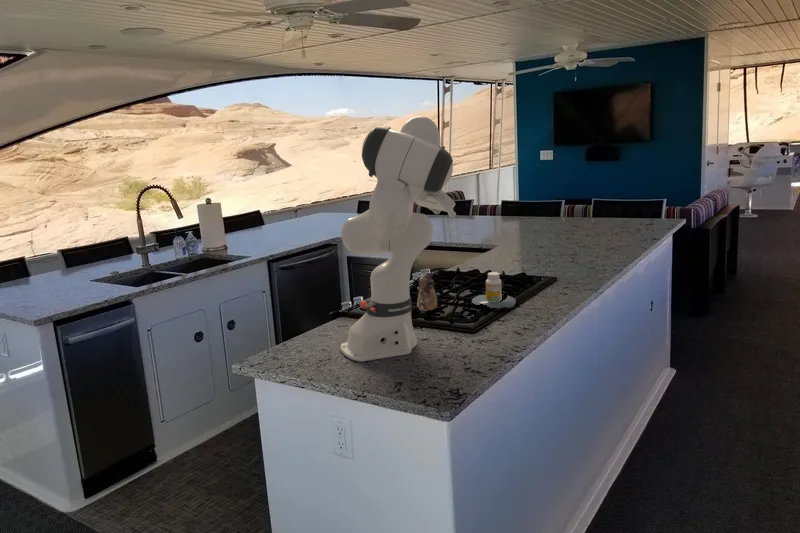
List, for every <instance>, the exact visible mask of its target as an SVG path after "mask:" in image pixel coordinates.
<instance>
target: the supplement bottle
mask: <svg viewBox="0 0 800 533" xmlns="http://www.w3.org/2000/svg"><path fill="white" fill-rule="evenodd" d="M502 290H503V289H502V279H500V273H499V272H497V271H491V272H488V273H487V279H486V280H485V295H486V301H488V302H500V301H501V300H502V295H503V294H502Z"/></svg>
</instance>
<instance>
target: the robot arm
mask: <svg viewBox="0 0 800 533" xmlns="http://www.w3.org/2000/svg"><path fill="white" fill-rule="evenodd" d="M441 140H442V139H441V135H440V131H439V128H438V126H437V124H436V122H434V121H433V120H432V119H431V118H429V117H428V116H423V115H420V116H419V115H417V116H413V117H411V118H410V119H408V120H407V121H406V122H405V123H404V124H403V126H402V127H401V130H397V129H393V128H391V126H385V125H376V126H374V127H373V128H371V130H370V131H369V132H368V133H367V135H366V136H365V138H364V139H363V142H362V147H361V159H362V162H363V165H364V167H365V168H366V169H367V171H368V176H369V177H370V178H373V177H375V178H376V179H377V183H376V185H375V187H374V189H373V191H372V194H371V197H370V201H369V206H368V207H369V208H368V209H367V210H366V211H364V212H362V213H360V214H358V215H355V216H352V217H350V218H347V219H346V220H345V222H344V223H343V226H342V228H341V236H340V237H341V241H342V243H343V245H344V247H345V248H346V249H347V250H348V251H349V252H350V253H358V254H365V255H367V254H368V255H369V254H380V253H381V254H382V253H385V254H386V253H391V254H390V256H389V258H388V259H387V260H386V261H384V262H381V263H380V264H379V265H378V266H376V267H375V268H374V269H373V270H372V272H371V274H370V277H369V278H370V292H371V298H370V300H369V302H367V301H366V300H361V301H360V302H359V307H361V308H363V309H366V313H364V314H363V315H362V316H361V317H360V318H359V319H358V320H357V321H356V322H355V323H353V325H351V327H350V328H349V330H348V333H347V334H348V336H347V341H346V342H343V343H341V345H340V351H341V353H342V354H343V355H344V356H346V357H347V358H348V359H350V360H353V361H356V362H367V361H373V360H378V359H386V358H392V357H397V356H398V357H399V356H405V355H409V354H411V353H412V351H413V349H414V348H415V347H416V346H417V345H418V341H417V338H416V335H415V331H414V326H413V322H412V313H413V311H412V310H413V307H412V306H413V304H412V298H411V295H410V281H411V280H410V279H411V278H410V277H411V270H412V267H413V264H414V261H416V258H417V257H418V256H419V254H420V253H421V252H423V250H424V249H426V248H427V247H428V246H429V244H431V241H432V240H433V236H434V226H433V223H432V221H431V219H430V217H429V216H427V215H426V214H425V213H420V212H414V204H416V205H418V206H420V207H424V208H427V209H429V210H430V211H432V212H433V213H434V214H435V215H440V213H441V212H445V213H446V212H447V215H448V216H449V218H453V219H454V218H456V216H457V213H456V211H454V207H455V206H456V202H455V201H454V200H453V198H451V196H449V195H448V194H447V193H446V192H445V191H443V190H442V189H443V188H445V186H447V184H448V183H449V182H450V180H451V178H452V175H453V170H454V160H453V157H452V156H451V153H450V152H449V151H447V150H446V146H444V145H442V146H441Z"/></svg>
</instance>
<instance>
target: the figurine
mask: <svg viewBox="0 0 800 533" xmlns="http://www.w3.org/2000/svg"><path fill="white" fill-rule="evenodd" d="M433 275H434V274H433V273H429V274H427V273H424V274H423V275H421V277H419V278H418V279H419V283H418V286H417V287H416V288H417V290H418V294H417V301H416V308H417V307H418V308H419V311H423V312H424V311H425V312H428V310H430V311H433V309H434V310H436V309H437V307H438V297H437V293H436V290H435V288H434V287H435V281H434V280H433V278H432V277H433ZM435 308H436V309H435Z"/></svg>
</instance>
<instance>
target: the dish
mask: <svg viewBox="0 0 800 533" xmlns="http://www.w3.org/2000/svg"><path fill="white" fill-rule="evenodd" d="M516 302H517V301H516V298H515V297H513V296H510V295H507V298H506V299H505V300H503V301H501V302H488V301H486V294H482V295H477V296H475V297H474V298H472V300H471V304H472V303H473V304H475V305H480V304H483V305H487V307H490V308H501V307H507V308H510V309H512V308H514V307H515V306H516V305H517V304H516ZM515 304H516V305H515Z"/></svg>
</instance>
